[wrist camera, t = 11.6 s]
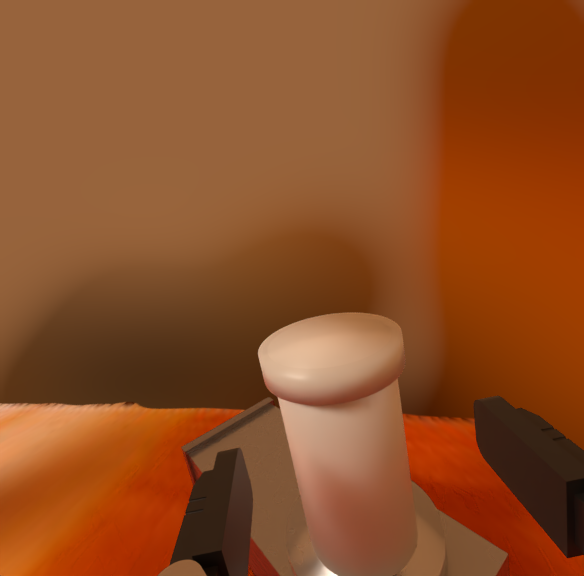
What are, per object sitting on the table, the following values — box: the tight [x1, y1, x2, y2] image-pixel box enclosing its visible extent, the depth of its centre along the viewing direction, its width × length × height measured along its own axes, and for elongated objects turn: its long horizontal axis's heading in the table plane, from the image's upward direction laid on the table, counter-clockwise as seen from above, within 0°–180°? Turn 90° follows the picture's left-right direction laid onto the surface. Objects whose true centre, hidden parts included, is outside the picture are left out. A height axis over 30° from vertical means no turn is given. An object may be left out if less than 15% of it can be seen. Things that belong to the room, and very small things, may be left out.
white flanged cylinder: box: [258, 313, 418, 576], centre depth 15 cm, size 6×6×10 cm
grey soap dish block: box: [181, 397, 510, 576], centre depth 21 cm, size 20×8×5 cm, turn 38°
